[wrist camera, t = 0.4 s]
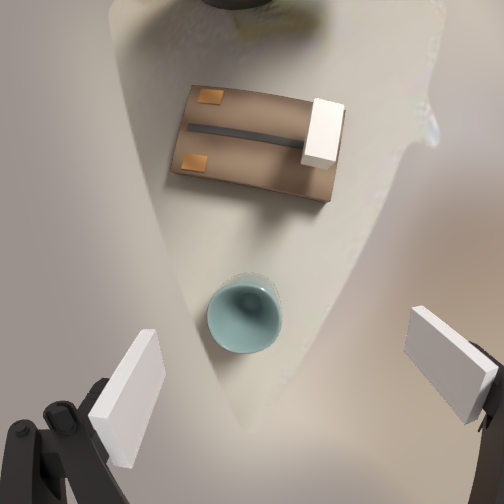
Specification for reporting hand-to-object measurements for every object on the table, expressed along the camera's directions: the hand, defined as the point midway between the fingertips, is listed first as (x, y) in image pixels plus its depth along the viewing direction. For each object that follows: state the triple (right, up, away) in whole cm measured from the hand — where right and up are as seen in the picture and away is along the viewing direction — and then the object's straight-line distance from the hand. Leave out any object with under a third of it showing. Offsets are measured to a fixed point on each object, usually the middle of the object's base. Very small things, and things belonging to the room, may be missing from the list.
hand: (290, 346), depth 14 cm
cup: (-2, -1, +26) cm, 26 cm away
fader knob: (+6, +17, +20) cm, 27 cm away
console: (-1, +19, +24) cm, 30 cm away
